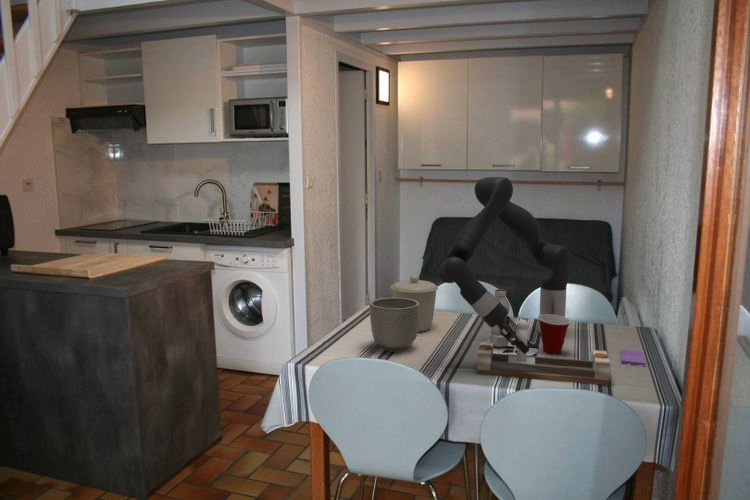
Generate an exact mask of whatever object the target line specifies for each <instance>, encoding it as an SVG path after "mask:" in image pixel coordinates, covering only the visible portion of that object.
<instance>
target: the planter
mask: <svg viewBox="0 0 750 500" xmlns="http://www.w3.org/2000/svg"><path fill="white" fill-rule="evenodd" d="M419 314H420V303H419V302H418V301H416V300H413V299H409V298H399V297H393V296H392V297H380V298H376V299H373V300H371V301H370V303H369V316H370V328H371V333H372V338H373V340H374V341H375V342H376V343H377V345H380V347H381V348H382V350H384V351H387V352H402V351H406V350H407V349H408V347H409V346H410V345H411V344H413V343H414V342H415V340H416V339H417V337H418V333H419V332H418V325H419Z"/></svg>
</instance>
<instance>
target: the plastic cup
mask: <svg viewBox="0 0 750 500" xmlns="http://www.w3.org/2000/svg"><path fill="white" fill-rule="evenodd" d="M537 319H538V324H539V323H540V330H541V334H540V337H541V343H542V350H543V353H545V354H547V355H552V356H553V355H554V356H555V355H556V356H557V355H561V354H562V351H563V348H564V347H563V345H564V344H565V338H566V335H567V331H568V328H569V326H570V324H571V323H572V320H571V319H570V318H567V317H566V316H565V317H562V316H559V315H551V314H543V315H538V317H537Z"/></svg>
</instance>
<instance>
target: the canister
mask: <svg viewBox="0 0 750 500" xmlns="http://www.w3.org/2000/svg"><path fill="white" fill-rule="evenodd" d="M390 289H391V290H392V297H399V298H409V299H413V300H416V301H418V302H419V303H420V314H419V325H418V332H417V333H421V332H425V331H428V330H429V329H430V328H431V326H432V325H433V320H434V313H435V305H436V299H437V298H436V297H437V290H439V286H438V285H436V284H435V283H434V282H431V281H429V280H421V279H420V276H419V275H418V274H411V275H410V276H409V279H405V280H400V281H397V282H395V283H393V284H392V285H390Z"/></svg>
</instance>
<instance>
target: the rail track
mask: <svg viewBox="0 0 750 500" xmlns="http://www.w3.org/2000/svg"><path fill="white" fill-rule="evenodd" d="M509 356H517V354H509V353H508V354H507V353H494V346H493V343H490V341H488V342H487V341H481V342H480V343H479V345H478V349H477V353H476V375H485V376H497V377H507V378H508V377H509V378H518V379H519V378H521V379H533V380H534V379H535V380H544V381H558V382H568V383H569V382H570V383H578V384H579V383H580V384H593V385H603V386H604V385H605V386H606V385H607V386H610V376H611V360H610V358H609V356H608V352H607V350H602V349H601V350H598V349H591V360H587V359H573V358H561V357H560V358H559V357H548V356H536V355H527V357H532V358H535V365H531V364H519V363H508V357H509Z"/></svg>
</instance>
